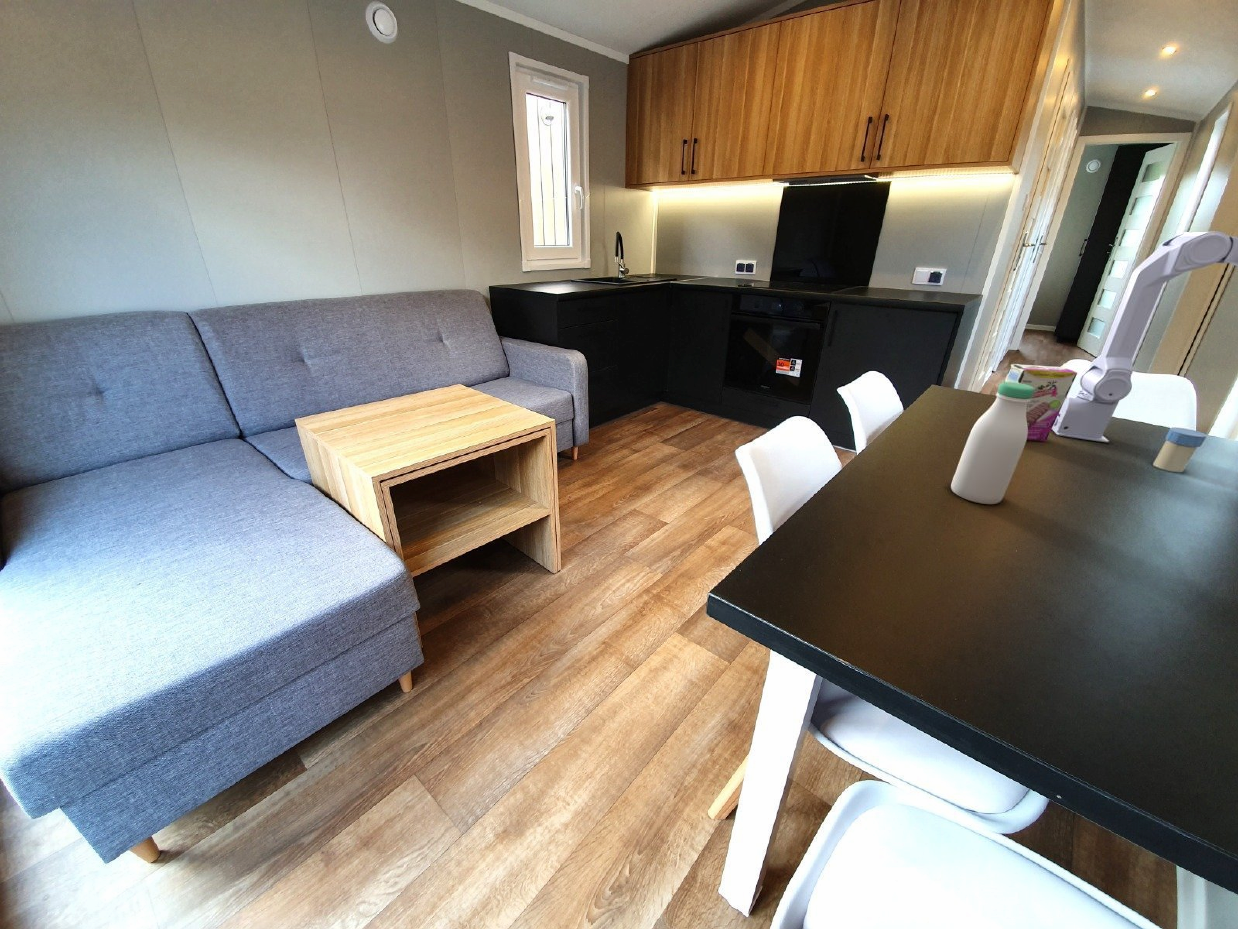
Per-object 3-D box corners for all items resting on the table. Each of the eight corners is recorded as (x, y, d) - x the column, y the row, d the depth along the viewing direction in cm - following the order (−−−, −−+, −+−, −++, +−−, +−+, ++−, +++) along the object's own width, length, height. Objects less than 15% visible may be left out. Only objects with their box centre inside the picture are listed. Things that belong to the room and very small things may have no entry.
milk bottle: (1010, 508, 83) (1059, 394, 74) (960, 502, 84) (1003, 389, 75) (988, 487, 89) (1031, 380, 81) (942, 482, 91) (980, 376, 82)
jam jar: (1158, 469, 99) (1178, 435, 96) (1148, 461, 103) (1166, 428, 100) (1187, 474, 98) (1208, 439, 94) (1176, 465, 101) (1195, 432, 98)
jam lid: (1172, 444, 97) (1178, 433, 96) (1159, 435, 101) (1165, 425, 100) (1206, 448, 95) (1212, 438, 94) (1192, 440, 99) (1198, 430, 98)
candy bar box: (996, 439, 112) (1024, 368, 105) (983, 431, 116) (1009, 363, 109) (1048, 442, 111) (1079, 371, 104) (1033, 434, 115) (1062, 366, 108)
